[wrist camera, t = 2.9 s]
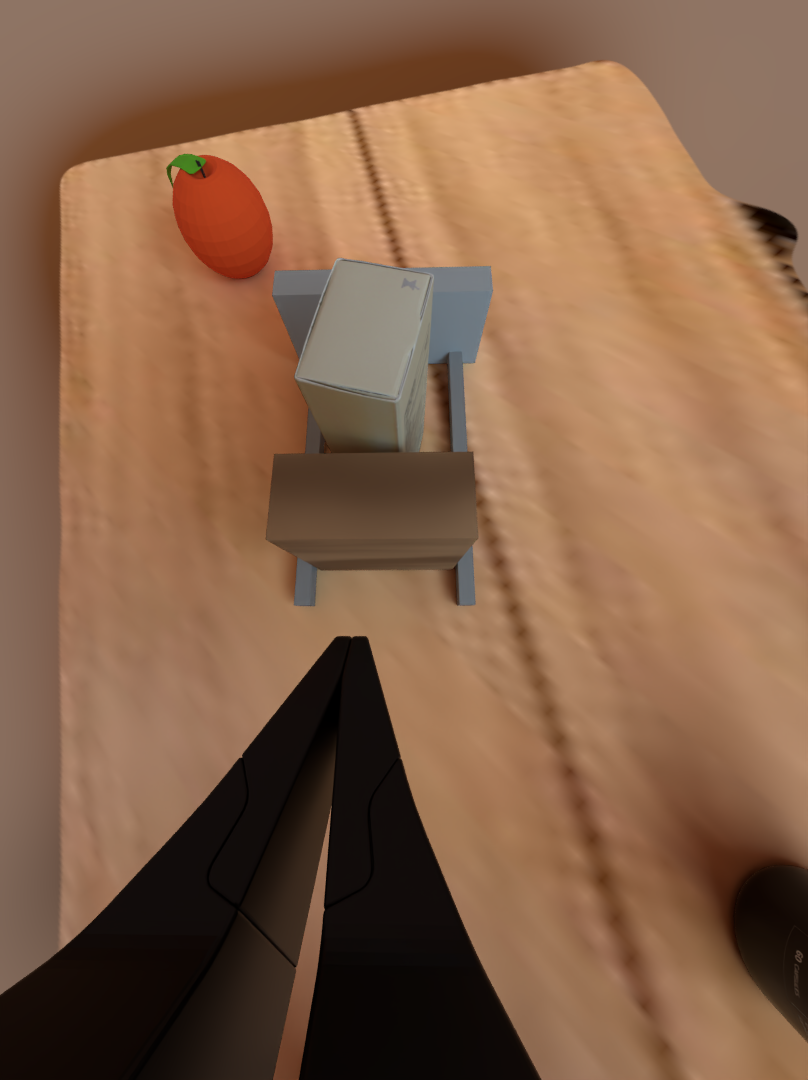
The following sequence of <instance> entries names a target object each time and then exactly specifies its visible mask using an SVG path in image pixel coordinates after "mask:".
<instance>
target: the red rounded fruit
mask: <svg viewBox="0 0 808 1080" xmlns="http://www.w3.org/2000/svg"><path fill="white" fill-rule="evenodd" d="M172 166H176V167H179V168H180V170H179V172H178V174H177V176H176V179H175V181H174V184H173V183H172V178H171V168H172ZM166 169H167V175H168V178H169V180H170V182H171V184H172V187H173V208H174V213H175V218H176V221H177V224H178V227H179V229H180V231H181V233H182V235H183V237H184V240H185V241H186V243H187V244H188V245H189V247H190V248H191V249H192V251H193V252H194V253H195V255H196V256H197V257H198V258H199V259H200V260H201V261H202V262H203V263H204V264H206V265H207V266H208V267H209V268H211V269H212V270H214V271H215V272H217V273H220V274H222V275H224V276H227V277H230V278H248V277H251V276H253V275H255V274H257V273H258V272H259V271H260V270H261V269H262V268H263V267H264V266H265V265H266V263H267V262H268V259H269V256H270V253H271V249H272V244H273V234H272V224H271V220H270V216H269V212H268V210H267V208H266V206H265V203H264V201H263V199H262V197H261V195H260V193H259V191H258V190H257V188H256V187H255V186H254V184H253V183H252V182H251V180H250V179H249V178H248V177H247V176H246V175H245V174H244V173H243V172H242V171H240V170H239V169H238V168H237V167H236V166H234V165H233V164H231V163H229V162H228V161H225V160H223V159H220V158H218V157H214V156H210V155H200V156H195V155H192V154H183V155H179V156H178V157H177V158H175V159H174V160H173V161H172V162H171V163H170V164H169V165H168V167H167V168H166Z"/></svg>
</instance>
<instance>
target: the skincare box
mask: <svg viewBox="0 0 808 1080" xmlns="http://www.w3.org/2000/svg"><path fill="white" fill-rule="evenodd" d="M433 284H434V275H433V274H430V273H427V272H419V271H414V270H409V269H404V268H398V267H393V266H386V265H382V264H376V263H370V262H365V261H358V260H350V259H344V258H338V259H337V260H336V261H335V263H334V266H333V268H332V270H331V272H330V275H329V277H328V280H327V282H326V285H325V287H324V290H323V292H322V295H321V298H320V300H319V303H318V306H317V309H316V311H315V315H314V317H313V320H312V323H311V326H310V329H309V332H308V335H307V338H306V341H305V344H304V347H303V350H302V354H301V356H300V360H299V363H298V366H297V369H296V372H295V375H294V378H295V380H296V382H297V384H298V386H299V388H300V390H301V392H302V394H303V397H304V399H305V401H306V403H307V405H308V407H309V409H310V411H311V413H312V415H313V417H314V419H315V421H316V423H317V425H318V427H319V429H320V431H321V433H322V435H323V437H324V439H325V441H326V443H327V445H328V447H329V449H330V451H331V453H400V452H419V449H420V445H421V440H422V436H423V429H424V414H425V398H426V384H427V370H428V357H429V343H430V329H431V314H432V299H433Z"/></svg>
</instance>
